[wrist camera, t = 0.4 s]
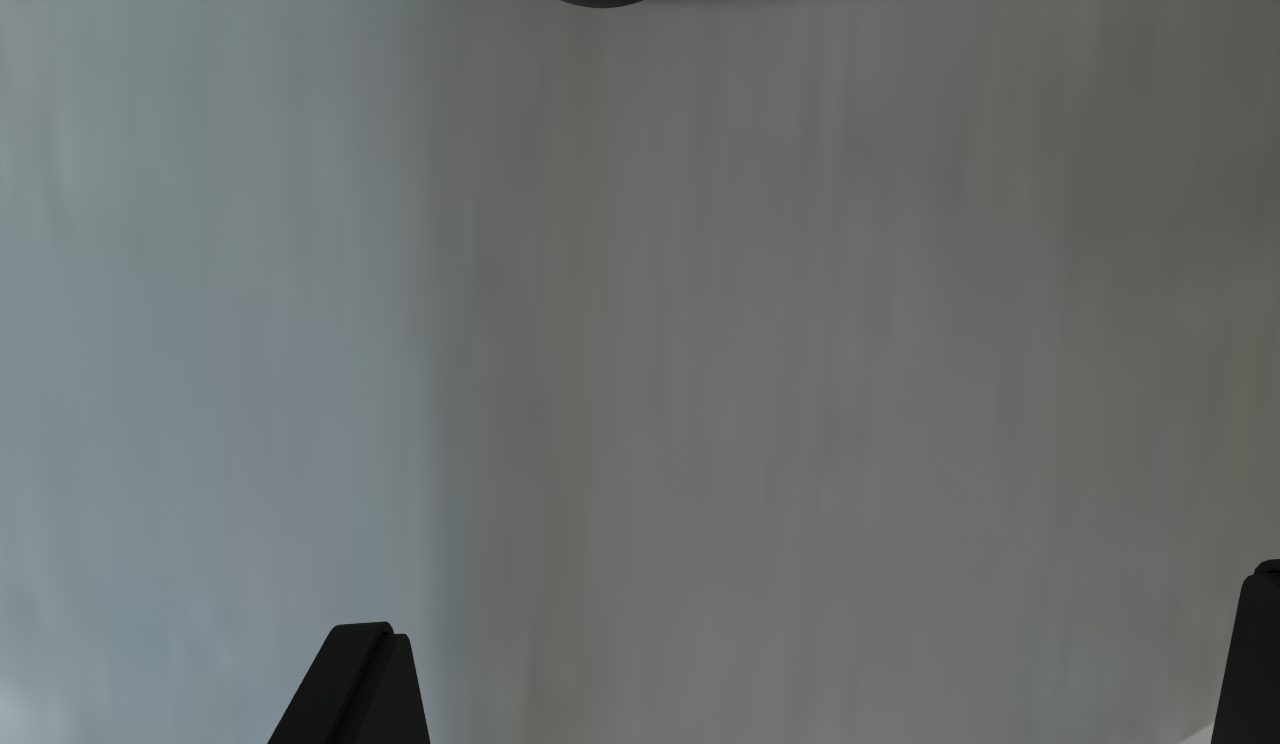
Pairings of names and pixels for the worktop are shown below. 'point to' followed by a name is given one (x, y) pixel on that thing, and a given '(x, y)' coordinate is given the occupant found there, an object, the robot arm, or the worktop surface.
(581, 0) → the mug
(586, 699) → the worktop surface
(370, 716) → the robot arm
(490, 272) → the worktop surface
